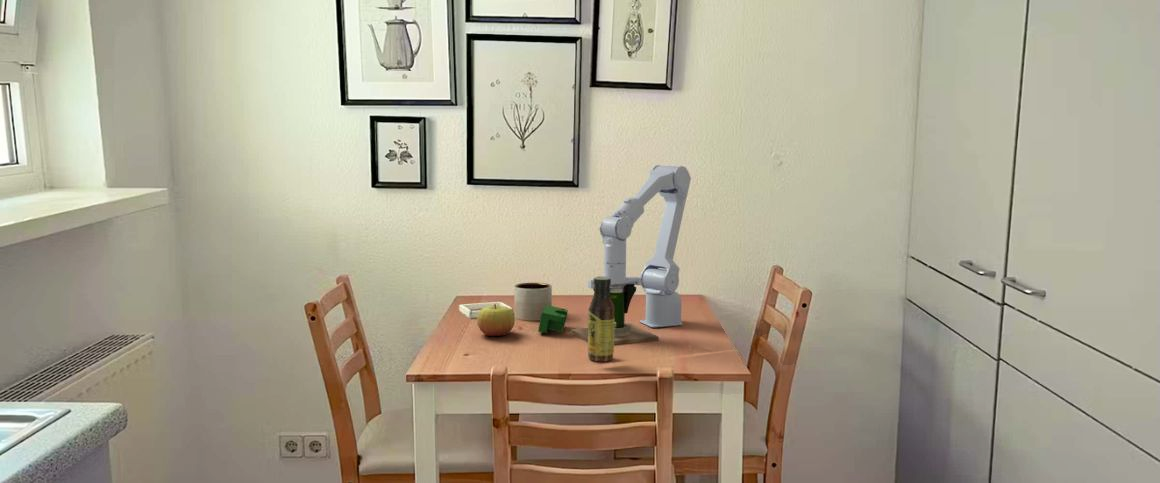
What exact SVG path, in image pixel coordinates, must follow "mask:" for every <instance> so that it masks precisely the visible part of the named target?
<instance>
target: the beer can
mask: <svg viewBox="0 0 1160 483" xmlns="http://www.w3.org/2000/svg"><path fill="white" fill-rule="evenodd" d="M609 297H610V299H611V300H612V301H613V304H614V317H615V320H614V328H623V327H624V324H625V323H626V322H625V320H626V319H625V315H626V313H625V290H624V287H623V286H614V287H610V296H609Z"/></svg>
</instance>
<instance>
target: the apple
mask: <svg viewBox="0 0 1160 483" xmlns="http://www.w3.org/2000/svg"><path fill="white" fill-rule="evenodd" d="M479 311H480V312H479V314H478V316H477V318H476V319H477V320H476V321H477V326H478V328H479V330H480V332H482V334H484V335H486V336H488V337H489V336H491V337H498V336H499V337H500V336H505V335H507V334H509V333H510V332H511V331H512V330H513V328H514V326H515V321H516V318H515V316H514V310H513V311H512V310H511V309H510V308H508V307H505V306H496V304H494V306H489V307H485V308H483V309H480V310H479Z"/></svg>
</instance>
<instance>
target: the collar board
mask: <svg viewBox="0 0 1160 483" xmlns="http://www.w3.org/2000/svg"><path fill="white" fill-rule="evenodd" d="M570 334H572V335H573V336H576V337H577V338H579V339H580V340H583V341H585V342H587V343H588V327H583V328H582V327H581V328H571V329H570ZM654 341H659V336H658V335H656V334H654V333H652V332H649V331H647V330H645V329H643V328H641V327H639V326H637V325H634V324H632V323H627V322H625V324H624V327H623V328H614V346H615V345H625V344H635V343H646V342H647V343H648V342H654Z"/></svg>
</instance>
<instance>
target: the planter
mask: <svg viewBox="0 0 1160 483" xmlns="http://www.w3.org/2000/svg"><path fill="white" fill-rule="evenodd" d="M513 288H514V290H513V292H514V293H513V294H514V295H513V296H514V299H513V300H514V301H513V302H514V304H513V313H514V316H515V320H520V321H527V322H540V320H541V315H542V312H543V311H544V309H545V308H546V306H547V305H549V306H553V302H552V301H553V300H552V298H553V295H552V294H553V293H552V292H553V291H552V290H553V289H552V288H553V287H552V285H551V284H549V283H546V282H545V283H544V282H522V283H517V284H515V285H514V286H513Z"/></svg>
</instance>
